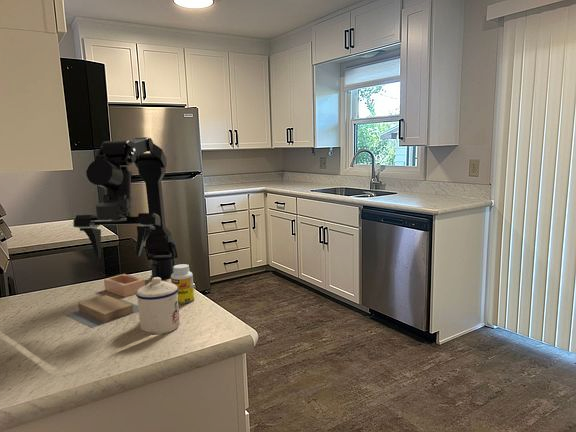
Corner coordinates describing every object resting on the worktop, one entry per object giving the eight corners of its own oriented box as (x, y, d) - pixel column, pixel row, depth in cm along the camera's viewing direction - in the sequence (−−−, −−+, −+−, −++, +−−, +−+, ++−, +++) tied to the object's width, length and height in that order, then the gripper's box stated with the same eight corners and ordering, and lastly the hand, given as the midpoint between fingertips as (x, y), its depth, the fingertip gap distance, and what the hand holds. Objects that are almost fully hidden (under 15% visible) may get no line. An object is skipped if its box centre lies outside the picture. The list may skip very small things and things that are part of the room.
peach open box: (125, 286, 128) (124, 273, 127) (145, 293, 121) (144, 279, 120) (105, 292, 123) (103, 279, 122) (125, 299, 116) (123, 285, 115)
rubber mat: (118, 301, 115) (117, 298, 115) (147, 311, 106) (146, 308, 106) (65, 317, 104) (64, 314, 104) (92, 331, 95) (92, 327, 95)
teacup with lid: (183, 331, 93) (179, 280, 92) (140, 339, 90) (135, 286, 88) (177, 312, 104) (173, 267, 103) (138, 319, 101) (134, 272, 100)
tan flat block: (106, 302, 112) (106, 295, 111) (133, 312, 104) (132, 304, 103) (79, 310, 106) (78, 303, 106) (105, 322, 98) (104, 314, 98)
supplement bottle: (169, 307, 108) (166, 269, 107) (177, 300, 114) (174, 263, 112) (190, 307, 108) (187, 268, 106) (197, 299, 113) (194, 263, 112)
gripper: (62, 187, 93) (61, 259, 91) (148, 185, 94) (149, 255, 93) (83, 195, 104) (83, 258, 102) (160, 192, 105) (161, 255, 104)
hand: (118, 257), depth 100 cm, fingers open, 9 cm apart
